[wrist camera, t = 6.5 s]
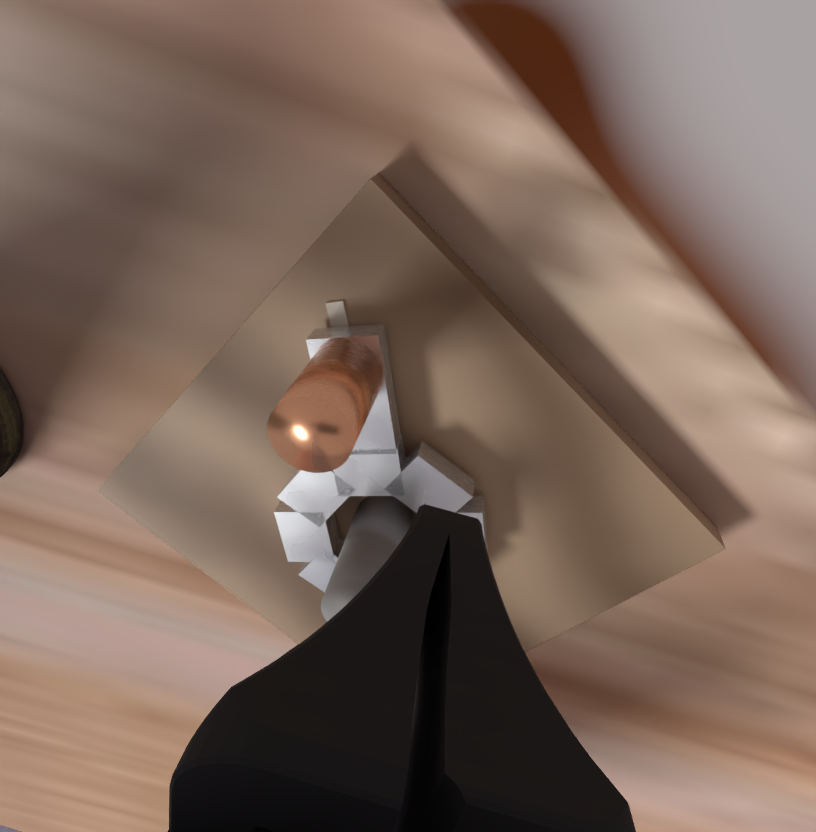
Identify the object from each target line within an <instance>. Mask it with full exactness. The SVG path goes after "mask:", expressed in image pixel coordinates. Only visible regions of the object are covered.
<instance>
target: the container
mask: <svg viewBox="0 0 816 832" xmlns="http://www.w3.org/2000/svg"><path fill="white" fill-rule="evenodd" d="M22 440H23V425H22V418H21V413H20V409H19V407H18V404H17V400H16V398H15V396H14V393H13V392H12V390H11V388H10V386H9V384H8V382H7V380H6V379H5V377H4V375H3V374H2V372H1V371H0V477H1V476H3V475H4V474H5V473H6V472H7V470H8V469H9V468H10V467H11V465H12V464H13V462H14V461H15V459H16V458H17V456H18V454H19V452H20V449H21V445H22Z"/></svg>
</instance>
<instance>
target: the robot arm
mask: <svg viewBox="0 0 816 832" xmlns="http://www.w3.org/2000/svg"><path fill="white" fill-rule="evenodd" d="M0 832H21V831H18V830H15V829H11V828H8V827H5V826H2V825H0ZM168 832H636V830H635V826H634V823H633V819H632V815H631V812H630V808H629V805H628V802H627V801H626V800H625V799H624V797H623V796H622V795H621V794H620V792H619V791H618V790H617V789H616V788H615V786H614V785H613V784H612V783H611V782H610V780H609V779H608V778H607V777H606V776H605V774H604V773H603V772H602V771H601V769H600V768H599V767H598V766H597V765H596V763H595V762H594V761H593V760H592V759H591V757H590V756H589V755H588V753H587V752H586V751H585V749H584V748H583V746H582V745H581V744H580V742H579V741H578V740H577V738H576V737H575V735H574V734H573V733H572V731H571V730H570V728H569V727H568V725H567V724H566V722H565V720H564V719H563V717H562V716H561V714H560V713H559V711H558V710H557V708H556V706H555V705H554V703H553V702H552V700H551V699H550V697H549V696H548V694H547V692H546V691H545V689H544V687H543V685H542V684H541V682H540V680H539V678H538V676H537V675H536V673H535V671H534V669H533V667H532V665H531V663H530V662H529V660H528V658H527V656H526V654H525V652H524V650H523V648H522V646H521V643H520V641H519V639H518V637H517V635H516V632H515V630H514V628H513V625H512V623H511V621H510V618H509V616H508V613H507V611H506V608H505V606H504V603H503V600H502V598H501V595H500V592H499V589H498V586H497V583H496V580H495V577H494V574H493V571H492V567H491V564H490V560H489V557H488V553H487V549H486V545H485V540H484V535H483V530H482V524H481V522H480V521H479V519H477V518H474V517H470V516H466V515H463V514H459V513H455V512H452V511H448V510H444V509H441V508H437V507H434V506H430V505H426V504H424V505H422V506H419V508H418V511H417V514H416V516H415V518H414V521H413V522H412V524H411V526H410V528H409V530H408V531H407V533H406V534H405V536H404V537H403V539H402V541H401V542H400V543H399V545H398V546H397V547H396V549H395V550H394V552H393V553H392V554H391V556H390V557H389V558H388V560H387V561H386V562H385V563H384V565H383V566H382V567H381V568H380V569H379V570H378V572H377V573H376V574H375V575H374V576H373V577H372V579H371V580H370V581H369V582H368V583H367V584H366V585H365V586H364V588H363V589H362V590H361V591H360V592H359V593H358V594H357V595H356V596H355V597H354V598H353V599H352V600H351V601H350V602H349V603H348V604H347V605H345V606H344V607H343V608H342V609H341V610H340V611H339V612H338V613H337V614H336V615H335V616H333V617H332V618H331V619H330V620H329V621H328V622H326V623H325V624H324V625H323V626H322V627H321V628H319V629H318V630H317V631H316V632H314V633H313V634H312V635H311V636H309V637H308V638H307V639H305V640H304V641H302V642H301V643H300V644H298V645H297V646H295V647H294V648H293V649H291V650H290V651H288V652H287V653H286V654H284V655H283V656H281V657H280V658H279V659H277V660H276V661H274V662H273V663H271V664H269V665H268V666H266V667H265V668H263V669H261V670H259V671H258V672H256V673H254V674H253V675H251V676H249V677H248V678H246V679H244V680H243V681H241V682H239V683H237V684H236V685H234V686H232V687H231V688H230V689H229V690H228V691H227V693H226V694H225V695H224V696H223V697H222V698H221V700H220V701H219V702H218V703H217V704H216V705H215V707H214V708H213V709H212V710H211V712H210V713H209V714H208V716H207V717H206V718H205V719H204V721H203V722H202V724H201V725H200V726H199V728H198V729H197V731H196V733H195V734H194V736H193V737H192V739H191V740H190V742H189V744H188V745H187V747H186V749H185V751H184V753H183V755H182V757H181V759H180V761H179V763H178V765H177V767H176V769H175V771H174V773H173V776H172V779H171V783H170V795H169V830H168Z"/></svg>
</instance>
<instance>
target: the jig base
mask: <svg viewBox="0 0 816 832" xmlns="http://www.w3.org/2000/svg"><path fill="white" fill-rule="evenodd" d="M379 324H384V325H385V331H386V338H387V344H388V351H389V358H390V364H391V371H392V378H393V384H394V391H395V398H396V404H397V411H398V417H399V424H400V431H401V434H402V435H403V442H404V448H405V455H406V457H407V456H408V455H409V454H410V453H411V452H412V451H413V450H414V448H415V447H416V446H417V445H418V444H419V443H420V442H421V441H423V442H425V443H426V444H427V445H429V446H430V447H431V448H432V449H434V450H435V451H436V452H438V453H439V454H440V455H442V456H443V457H444V458H446V459H447V460H448V461H450V462H451V463H452V464H454V465H455V466H456V467H457V468H459V469H460V470H461V471H463V472H464V473H465V474H467V475H468V476H469V477H471V478H472V479H473V480H475V484H474V492H473V496H484V502H485V514H486V526H487V539H488V557H489V560H490V564H491V567H492V571H493V574H494V577H495V580H496V583H497V586H498V589H499V592H500V595H501V598H502V600H503V603H504V606H505V608H506V611H507V613H508V616H509V618H510V621H511V623H512V625H513V628H514V630H515V632H516V635H517V637H518V639H519V641H520V643H521V646H522V648H523V650H524V652H525V651H527V650H529V649H531V648H533V647H535V646H537V645H539V644H541V643H543V642H545V641H547V640H549V639H551V638H553V637H555V636H557V635H559V634H561V633H562V632H564V631H566V630H568V629H570V628H572V627H574V626H576V625H578V624H580V623H582V622H584V621H586V620H588V619H590V618H592V617H594V616H596V615H598V614H600V613H601V612H603V611H605V610H607V609H609V608H611V607H613V606H615V605H617V604H619V603H621V602H623V601H625V600H627V599H629V598H631V597H633V596H635V595H637V594H638V593H640V592H642V591H644V590H646V589H648V588H650V587H652V586H654V585H656V584H658V583H660V582H662V581H664V580H666V579H668V578H670V577H672V576H674V575H675V574H677V573H679V572H681V571H683V570H685V569H687V568H689V567H691V566H693V565H695V564H697V563H699V562H701V561H703V560H705V559H707V558H709V557H711V556H712V555H714V554H716V553H718V552H720V551H722V550H724V549H726V548H725V546H724V543H723V541H722V539H721V536H720V534H719V531H718V529H717V527H716V526H715V525H714V524H713V523H712V522H711V521H710V520H709V519H708V518H707V517H706V516H705V515H704V514H703V513H702V512H701V511H700V509H699V508H698V507H697V506H696V505H695V504H694V503H693V502H692V501H691V500H690V499H689V498H688V497H687V496H686V495H685V494H684V493H683V492H682V491H681V490H680V488H679V487H678V486H677V485H676V484H675V483H674V482H673V481H672V480H671V479H670V478H669V477H668V476H667V475H666V474H665V473H664V472H663V471H662V470H661V469H660V467H659V466H658V465H657V464H656V463H655V462H654V461H653V460H652V459H651V458H650V457H649V456H648V455H647V454H646V453H645V452H644V451H643V450H642V449H641V448H640V447H639V445H638V444H637V443H636V442H635V441H634V440H633V439H632V438H631V437H630V436H629V435H628V434H627V433H626V432H625V431H624V430H623V429H622V428H621V427H620V426H619V424H618V423H617V422H616V421H615V420H614V419H613V418H612V417H611V416H610V415H609V414H608V413H607V412H606V411H605V410H604V409H603V408H602V407H601V406H600V405H599V403H598V402H597V401H596V400H595V399H594V398H593V397H592V396H591V395H590V394H589V393H588V392H587V391H586V390H585V389H584V388H583V387H582V386H581V385H580V384H579V382H578V381H577V380H576V379H575V378H574V377H573V376H572V375H571V374H570V373H569V372H568V371H567V370H566V369H565V368H564V367H563V366H562V365H561V364H560V363H559V362H558V360H557V359H556V358H555V357H554V356H553V355H552V354H551V353H550V352H549V351H548V350H547V349H546V348H545V347H544V346H543V345H542V344H541V343H540V342H539V341H538V339H537V338H536V337H535V336H534V335H533V334H532V333H531V332H530V331H529V330H528V329H527V328H526V327H525V326H524V325H523V324H522V323H521V322H520V321H519V320H518V318H517V317H516V316H515V315H514V314H513V313H512V312H511V311H510V310H509V309H508V308H507V307H506V306H505V305H504V304H503V303H502V302H501V301H500V300H499V299H498V297H497V296H496V295H495V294H494V293H493V292H492V291H491V290H490V289H489V288H488V287H487V286H486V285H485V284H484V283H483V282H482V281H481V280H480V279H479V278H478V277H477V275H476V274H475V273H474V272H473V271H472V270H471V269H470V268H469V267H468V266H467V265H466V264H465V263H464V262H463V261H462V260H461V259H460V258H459V257H458V256H457V254H456V253H455V252H454V251H453V250H452V249H451V248H450V247H449V246H448V245H447V244H446V243H445V242H444V241H443V240H442V239H441V238H440V237H439V236H438V235H437V233H436V232H435V231H434V230H433V229H432V228H431V227H430V226H429V225H428V224H427V223H426V222H425V221H424V220H423V219H422V218H421V217H420V216H419V215H418V214H417V212H416V211H415V210H414V209H413V208H412V207H411V206H410V205H409V204H408V203H407V202H406V201H405V200H404V199H403V198H402V197H401V196H400V195H399V194H398V193H397V192H396V190H395V189H394V188H393V187H392V186H391V185H390V184H389V183H388V182H387V181H386V180H385V179H384V178H383V177H382V176H381V175H380V174H379V173H378V174H377V175H375V176H374V177H372V178H371V179H370V180H369V181H368V182H367V183H366V185H365V186H364V187H363V188H362V189H361V190H360V191H359V193H358V194H357V195H356V196H355V197H354V198H353V199H352V200H351V202H350V203H349V204H348V205H347V206H346V207H345V208H344V210H343V211H342V212H341V213H340V214H339V215H338V216H337V218H336V219H335V220H334V221H333V222H332V223H331V224H330V226H329V227H328V228H327V229H326V230H325V231H324V232H323V234H322V235H321V236H320V237H319V238H318V239H317V240H316V242H315V243H314V244H313V245H312V246H311V247H310V248H309V249H308V251H307V252H306V253H305V254H304V255H303V256H302V257H301V259H300V260H299V261H298V262H297V263H296V264H295V265H294V267H293V268H292V269H291V270H290V271H289V272H288V273H287V275H286V276H285V277H284V278H283V279H282V280H281V281H280V283H279V284H278V285H277V286H276V287H275V288H274V289H273V291H272V292H271V293H270V294H269V295H268V296H267V297H266V298H265V300H264V301H263V302H262V303H261V304H260V305H259V306H258V308H257V309H256V310H255V311H254V312H253V313H252V314H251V316H250V317H249V318H248V319H247V320H246V321H245V322H244V324H243V325H242V326H241V327H240V328H239V329H238V330H237V332H236V333H235V334H234V335H233V336H232V337H231V338H230V340H229V341H228V342H227V343H226V344H225V345H224V346H223V347H222V349H221V350H220V351H219V352H218V353H217V354H216V355H215V357H214V358H213V359H212V360H211V361H210V362H209V363H208V365H207V366H206V367H205V368H204V369H203V370H202V371H201V373H200V374H199V375H198V376H197V377H196V378H195V379H194V381H193V382H192V383H191V384H190V385H189V386H188V387H187V389H186V390H185V391H184V392H183V393H182V394H181V395H180V397H179V398H178V399H177V400H176V401H175V402H174V403H173V404H172V406H171V407H170V408H169V409H168V410H167V411H166V412H165V414H164V415H163V416H162V417H161V418H160V419H159V420H158V422H157V423H156V424H155V425H154V426H153V427H152V428H151V430H150V431H149V432H148V433H147V434H146V435H145V436H144V438H143V439H142V440H141V441H140V442H139V443H138V444H137V446H136V447H135V448H134V449H133V450H132V451H131V452H130V453H129V455H128V456H127V457H126V458H125V459H124V460H123V461H122V463H121V464H120V465H119V466H118V467H117V468H116V469H115V471H114V472H113V473H112V474H111V475H110V476H109V477H108V479H107V480H106V481H105V482H104V483H103V484H102V485H101V487H100V488H99V489H98V490H97V491H98V492H99V493H101V494H102V495H103V496H105V497H106V498H107V499H109V500H110V501H111V502H112V503H114V504H115V505H116V506H118V507H119V508H120V509H122V510H123V511H124V512H126V513H127V514H128V515H129V516H131V517H132V518H133V519H135V520H136V521H137V522H139V523H140V524H141V525H143V526H144V527H145V528H146V529H148V530H149V531H150V532H152V533H153V534H154V535H156V536H157V537H158V538H160V539H161V540H162V541H164V542H165V543H166V544H167V545H169V546H170V547H171V548H173V549H174V550H175V551H177V552H178V553H179V554H181V555H182V556H183V557H184V558H186V559H187V560H188V561H190V562H191V563H192V564H194V565H195V566H196V567H198V568H199V569H200V570H202V571H203V572H204V573H205V574H207V575H208V576H209V577H211V578H212V579H213V580H215V581H216V582H217V583H219V584H220V585H221V586H222V587H224V588H225V589H226V590H228V591H229V592H230V593H232V594H233V595H234V596H236V597H237V598H238V599H240V600H241V601H242V602H243V603H245V604H246V605H247V606H249V607H250V608H251V609H253V610H254V611H255V612H257V613H258V614H259V615H260V616H262V617H263V618H264V619H266V620H267V621H268V622H270V623H271V624H272V625H274V626H275V627H276V628H277V629H279V630H280V631H281V632H283V633H284V634H285V635H287V636H288V637H289V638H291V639H292V640H293V641H295V642H296V643H297V644H300V643H301V642H302V641H304V640H305V639H307V638H308V637H309V636H311V635H312V634H313V633H314V632H316V631H317V630H318V629H319V628H321V627H322V626H323V625H324V624H325V623H326V622H328V621H329V620H330V619H331V618H332V617H333V616H335V615H336V614H337V613H338V612H339V611H340V610H341V609H342V608H343V607H344V606H345V605H347V604H348V603H349V602H350V601H351V600H352V599H353V598H354V597H355V596H356V595H357V594H358V593H359V592H360V591H361V590H362V589H363V588H364V586H365V585H366V584H367V583H368V582H369V581H370V580H371V579H372V577H373V576H374V575H375V574H376V573H377V572H378V570H379V569H380V568H381V567H382V566H383V565H384V563H385V562H386V561H387V560H388V558H389V557H390V556H391V554H392V553H393V552H394V550H395V549H396V547H397V546H398V545H399V543H400V542H401V541H402V539H403V537H404V536H405V534H406V533H407V531H408V530H409V528H410V526H411V524H412V522H413V521H414V518H415V516H416V514H417V513H416V512H415V511H413V510H412V509H410V508H409V507H408V506H406V505H405V504H404V503H402V502H401V501H400V500H398V499H397V498H395V497H394V496H349V497H348V498H347V499H346V500H345V501H344V502H343V503H342V504H341V506H340V507H339V508H338V509H337V510H336V511H335V512H334V514H335V518H336V523H337V527H338V532H339V536H340V538H341V539H342V540H344V541H345V542H344V544H343V547H342V549H341V552H340V554H339V557H338V560H337V562H336V565H335V567H334V570H333V573H332V575H331V578H330V580H329V583H328V585H327V588H326V591H325V592H323V591H322V590H320V589H319V588H317V587H316V586H314V585H313V584H311V583H310V582H308V581H307V580H305V579H304V578H302V577H301V576H299V575H298V574H299V572H300V570H301V568H302V565H303V563H304V562H288V560H287V556H286V553H285V549H284V546H283V542H282V539H281V535H280V532H279V528H278V525H277V521H276V518H275V514H274V511H275V509H276V508H277V506H278V504H279V502H280V501H281V500H280V499H278V498H277V496H278V495H279V493H280V491H281V490H282V488H283V486H284V484H285V483H286V481H287V480H288V479H289V478H290V477H291V476H292V474H293V473H294V472H295V471H296V470H297V468H295V467H293V466H292V465H290V464H288V463H287V462H286V461H284V460H283V459H282V458H281V457H280V456H279V455H278V454H277V452H276V451H275V450H274V448H273V447H272V445H271V443H270V440H269V437H268V432H267V424H268V419H269V416H270V414H271V412H272V411H273V409H274V408H275V406H276V405H277V404H278V402H279V401H280V400H281V398H282V397H283V396H284V394H285V393H286V392H287V390H288V389H289V388H290V386H291V385H292V384H293V382H294V381H295V380H296V378H297V377H298V376H299V374H300V373H301V372H302V370H303V369H304V368H305V366H306V365H307V364H308V362H309V361H310V356H309V351H308V347H307V342H306V339H307V338H308V337H309V335H310V334H311V333H312V332H313V330H314V329H315V328H330V327H346V326H362V325H379Z"/></svg>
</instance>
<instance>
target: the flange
mask: <svg viewBox="0 0 816 832" xmlns="http://www.w3.org/2000/svg"><path fill="white" fill-rule="evenodd" d="M306 342H307V347H308V351H309V356H310V361H309V362H308V364H307V365H306V366H305V368H304V369H303V370H302V372H301V373H300V374H299V376H298V377H297V378H296V380H295V381H294V382H293V384H292V385H291V386H290V388H289V389H288V390H287V392H286V393H285V394H284V396H283V397H282V398H281V400H280V401H279V402H278V404H277V405H276V406H275V408H274V409H273V411H272V412H271V414H270V416H269V419H268V424H267V432H268V437H269V440H270V443H271V445H272V447H273V448H274V450H275V451H276V452H277V454H278V455H279V456H280V457H281V458H282V459H283V460H284V461H286V462H287V463H288V464H290V465H292V466H293V467H295V468H297V470H296V471H295V472H294V473H293V474H292V476H291V477H290V478H289V479H288V480H287V481H286V483H285V484H284V486H283V488H282V490H281V491H280V493H279V495H278V496H277V498H278V499H280V500H281V501H280V502H279V504H278V506H277V508H276V509H275V511H274V514H275V518H276V521H277V525H278V528H279V532H280V535H281V539H282V542H283V546H284V549H285V553H286V556H287V560H288V562H304V563H303V565H302V568H301V570H300V572H299V574H298V575H299V576H301V577H302V578H304V579H305V580H307V581H308V582H310V583H311V584H313V585H314V586H316V587H317V588H319V589H320V590H322V591H323V592H325V591H326V588H327V585H328V583H329V580H330V578H331V575H332V573H333V570H334V567H335V565H336V562H337V560H338V557H339V554H340V552H341V549H342V547H343V544H344V542H345V541H344V540H342V539H341V538H340V536H339V532H338V527H337V523H336V518H335V514H334V512H335V511H336V510H337V509H338V508H339V507H340V506H341V504H342V503H343V502H344V501H345V500H346V499H347V498H348V497H349V496H394V497H395V498H397V499H398V500H400V501H401V502H402V503H404V504H405V505H406V506H408V507H409V508H410V509H412V510H413V511H415V512H416V513H417V511H418V508H419V506H422V505H424V504H426V505H430V506H434V507H437V508H441V509H444V510H448V511H452V512H455V513H459V514H463V515H466V516H470V517H474V518H477V519H479V521H480V522H481V524H482V530H483V535H484V540H485V545H486V549H487V553H488V539H487V526H486V514H485V502H484V496H473V492H474V484H475V480H473V479H472V478H471V477H469V476H468V475H467V474H465V473H464V472H463V471H461V470H460V469H459V468H457V467H456V466H455V465H454V464H452V463H451V462H450V461H448V460H447V459H446V458H444V457H443V456H442V455H440V454H439V453H438V452H436V451H435V450H434V449H432V448H431V447H430V446H429V445H427V444H426V443H425V442H423V441H421V442H420V443H419V444H418V445H417V446H416V447H415V448H414V450H413V451H412V452H411V453H410V454H409V455H408V456H407V457H406V455H405V448H404V442H403V435H402V434H401V431H400V424H399V417H398V411H397V404H396V398H395V391H394V384H393V378H392V371H391V364H390V358H389V351H388V344H387V338H386V331H385V325H384V324H379V325H362V326H346V327H330V328H315V329H314V330H313V332H312V333H311V334H310V335H309V337H308V338H307V339H306Z"/></svg>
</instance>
